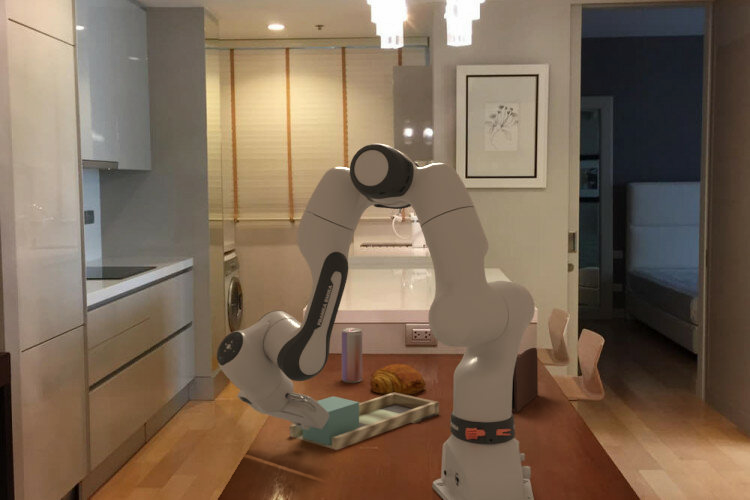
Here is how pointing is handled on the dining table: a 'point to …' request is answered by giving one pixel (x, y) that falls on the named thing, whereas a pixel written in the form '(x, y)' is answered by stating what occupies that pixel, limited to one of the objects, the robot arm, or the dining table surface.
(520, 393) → the letter holder
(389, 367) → the croissant
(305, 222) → the robot arm
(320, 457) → the dining table surface
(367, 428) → the trap lane
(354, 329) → the beverage can
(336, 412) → the teal block
